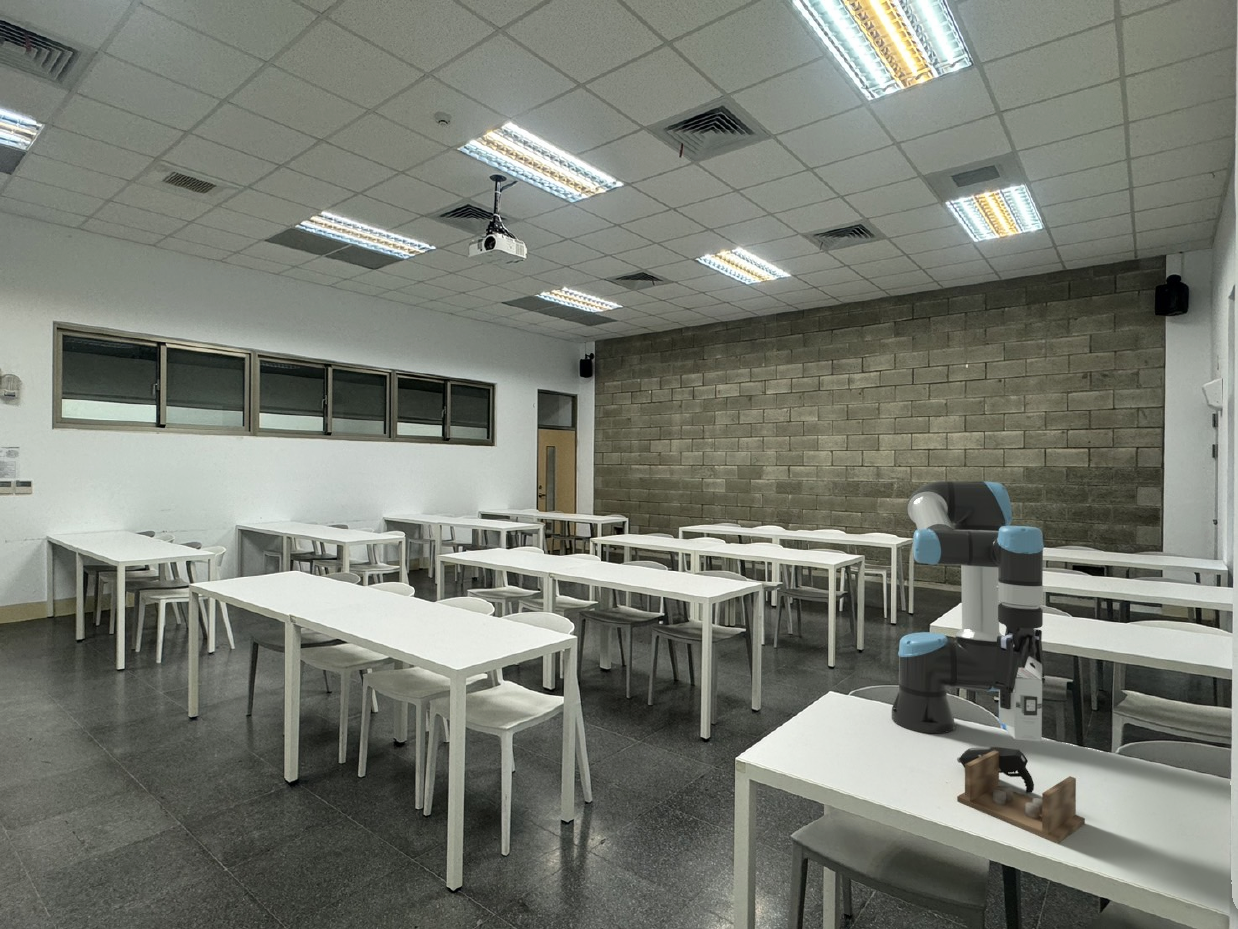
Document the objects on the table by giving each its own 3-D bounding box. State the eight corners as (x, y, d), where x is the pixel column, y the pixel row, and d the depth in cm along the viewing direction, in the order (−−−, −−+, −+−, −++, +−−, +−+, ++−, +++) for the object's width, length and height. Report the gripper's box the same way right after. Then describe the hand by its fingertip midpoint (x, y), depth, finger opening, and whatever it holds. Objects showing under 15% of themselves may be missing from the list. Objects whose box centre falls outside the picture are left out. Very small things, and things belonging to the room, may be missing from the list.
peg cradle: (986, 785, 138) (986, 747, 138) (1084, 823, 123) (1084, 781, 123) (957, 801, 131) (957, 761, 131) (1057, 843, 116) (1057, 799, 116)
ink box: (997, 723, 132) (998, 650, 132) (1024, 725, 131) (1024, 652, 131) (1014, 740, 124) (1014, 662, 124) (1042, 742, 123) (1043, 664, 123)
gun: (981, 786, 146) (954, 746, 148) (1048, 786, 133) (1018, 742, 134) (975, 794, 144) (948, 753, 146) (1043, 795, 131) (1012, 750, 133)
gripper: (1024, 596, 137) (1024, 702, 137) (972, 607, 124) (971, 725, 124) (1065, 602, 131) (1064, 714, 130) (1014, 614, 118) (1013, 738, 118)
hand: (1019, 719), depth 127 cm, fingers closed on ink box, 9 cm apart
